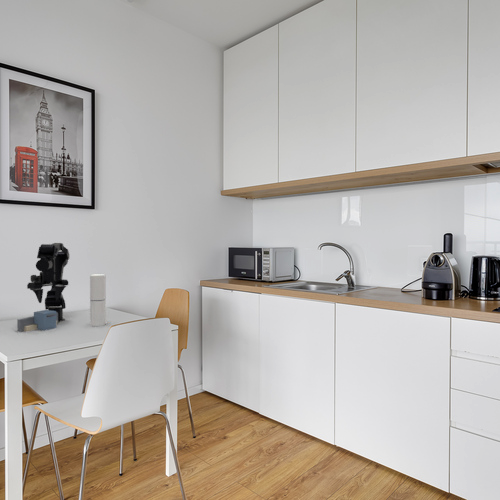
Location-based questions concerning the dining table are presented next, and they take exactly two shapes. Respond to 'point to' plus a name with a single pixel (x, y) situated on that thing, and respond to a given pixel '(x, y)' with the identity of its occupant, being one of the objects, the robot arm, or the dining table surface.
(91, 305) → the cylindrical container
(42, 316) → the blue block
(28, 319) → the wall board
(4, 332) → the dining table surface
